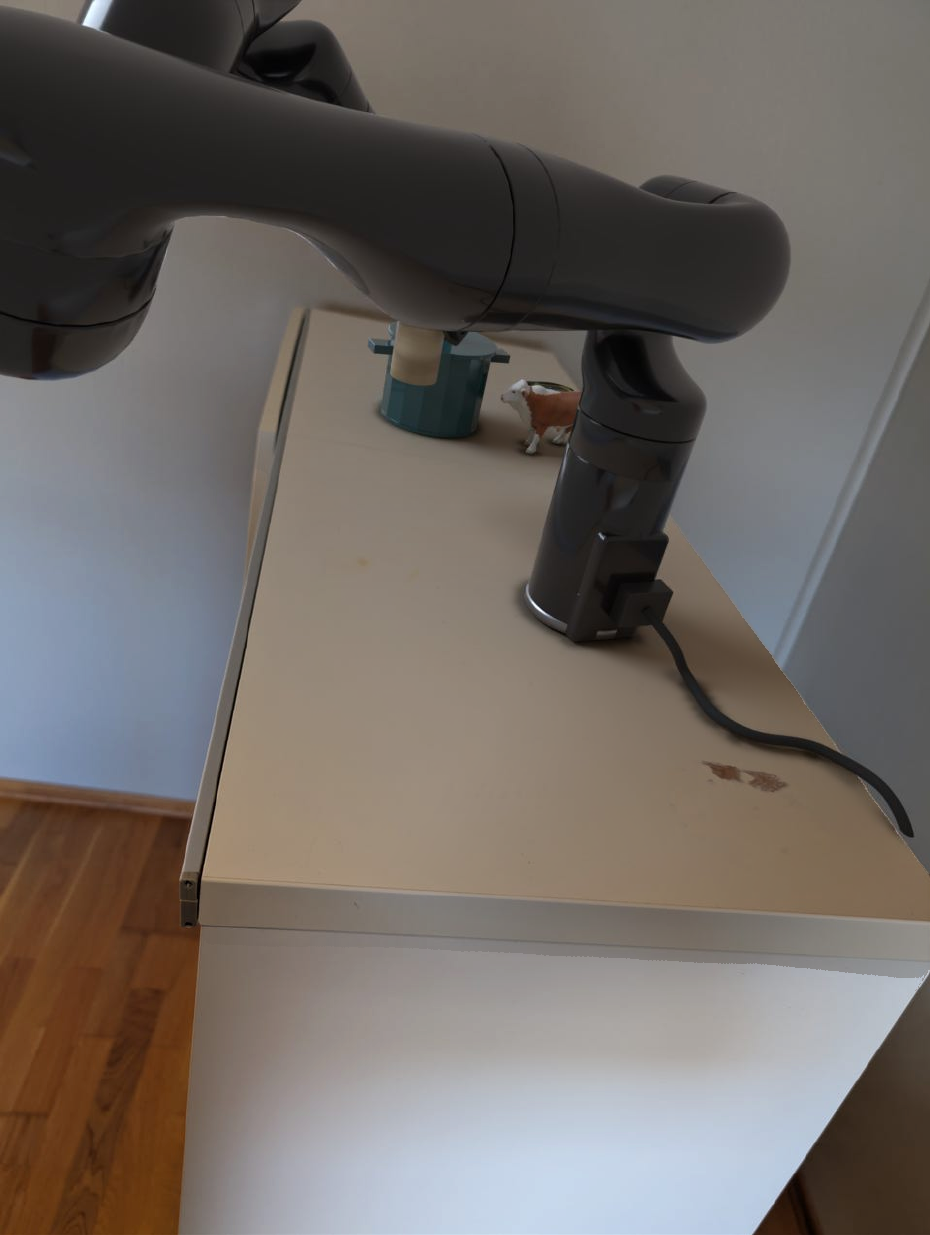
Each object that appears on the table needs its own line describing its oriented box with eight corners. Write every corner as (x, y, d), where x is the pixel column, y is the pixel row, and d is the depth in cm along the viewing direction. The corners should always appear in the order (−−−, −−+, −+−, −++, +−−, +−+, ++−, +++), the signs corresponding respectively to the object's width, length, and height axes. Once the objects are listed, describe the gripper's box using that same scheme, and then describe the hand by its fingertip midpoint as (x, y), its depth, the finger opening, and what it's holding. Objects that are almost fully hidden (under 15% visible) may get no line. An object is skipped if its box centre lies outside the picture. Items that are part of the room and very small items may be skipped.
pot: (510, 440, 105) (529, 363, 100) (376, 435, 97) (389, 352, 92) (473, 403, 113) (488, 331, 108) (347, 396, 106) (357, 319, 101)
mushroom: (454, 390, 80) (471, 297, 75) (393, 387, 77) (407, 291, 73) (431, 368, 84) (446, 279, 80) (373, 364, 82) (385, 272, 77)
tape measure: (555, 405, 119) (562, 379, 118) (580, 424, 114) (587, 397, 112) (512, 403, 116) (519, 376, 115) (535, 423, 112) (542, 395, 110)
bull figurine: (486, 439, 103) (500, 373, 99) (579, 441, 109) (596, 378, 105) (502, 455, 100) (518, 387, 96) (597, 455, 106) (616, 391, 102)
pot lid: (512, 368, 99) (523, 324, 96) (408, 361, 93) (416, 313, 91) (470, 333, 108) (478, 291, 105) (373, 324, 103) (379, 280, 100)
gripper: (263, 190, 68) (358, 331, 83) (385, 239, 61) (466, 384, 75) (323, 121, 69) (406, 273, 83) (450, 161, 62) (517, 320, 76)
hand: (434, 325), depth 79 cm, fingers closed on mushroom, 6 cm apart
